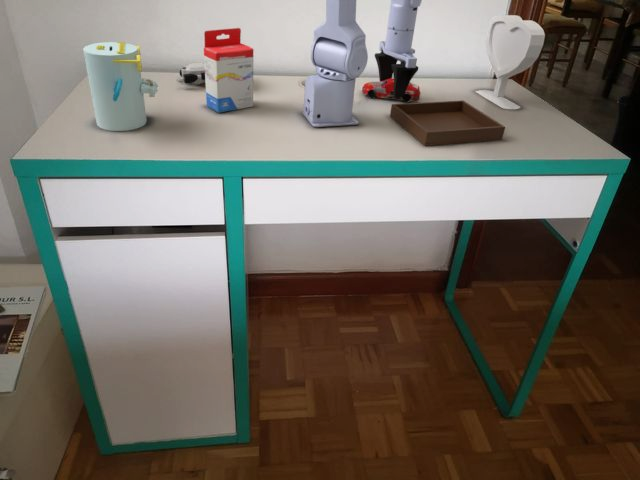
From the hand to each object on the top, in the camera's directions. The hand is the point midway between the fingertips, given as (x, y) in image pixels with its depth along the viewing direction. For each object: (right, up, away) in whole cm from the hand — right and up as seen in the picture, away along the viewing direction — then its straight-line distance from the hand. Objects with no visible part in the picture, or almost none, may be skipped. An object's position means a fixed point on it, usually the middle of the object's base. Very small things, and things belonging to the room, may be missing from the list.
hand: (391, 91), depth 117 cm
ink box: (-35, -7, -11) cm, 37 cm away
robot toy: (-40, +2, 0) cm, 41 cm away
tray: (+9, -11, -13) cm, 19 cm away
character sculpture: (-52, -12, -21) cm, 57 cm away
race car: (0, -1, +1) cm, 2 cm away
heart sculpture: (+26, -1, +5) cm, 26 cm away
